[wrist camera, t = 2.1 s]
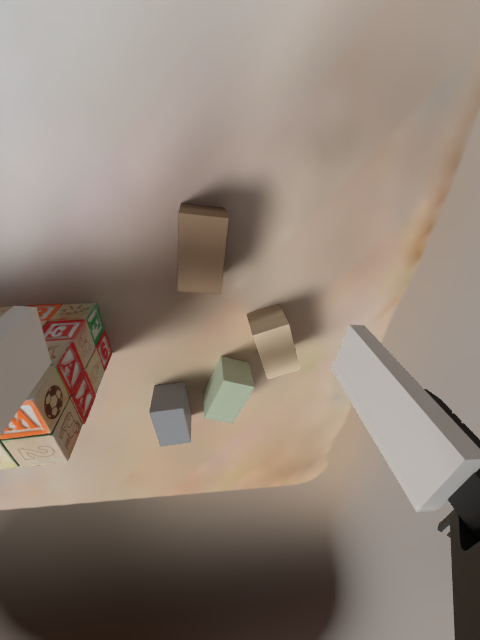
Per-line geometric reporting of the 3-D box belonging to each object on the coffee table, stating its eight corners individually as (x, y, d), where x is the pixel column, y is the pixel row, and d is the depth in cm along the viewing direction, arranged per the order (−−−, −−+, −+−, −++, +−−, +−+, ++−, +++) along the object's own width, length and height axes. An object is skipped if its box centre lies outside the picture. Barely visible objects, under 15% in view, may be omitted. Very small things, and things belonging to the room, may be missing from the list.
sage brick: (220, 355, 31) (223, 380, 28) (248, 362, 32) (254, 387, 29) (203, 391, 34) (204, 418, 31) (229, 396, 35) (233, 423, 32)
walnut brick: (181, 202, 22) (178, 212, 19) (224, 207, 23) (228, 218, 20) (180, 272, 25) (177, 291, 22) (217, 275, 26) (220, 293, 23)
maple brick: (246, 313, 29) (252, 335, 25) (278, 303, 29) (289, 324, 25) (260, 355, 32) (267, 379, 29) (289, 346, 32) (299, 369, 28)
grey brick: (154, 384, 32) (149, 412, 29) (184, 381, 33) (182, 408, 29) (164, 418, 36) (160, 446, 32) (191, 414, 36) (190, 442, 32)
